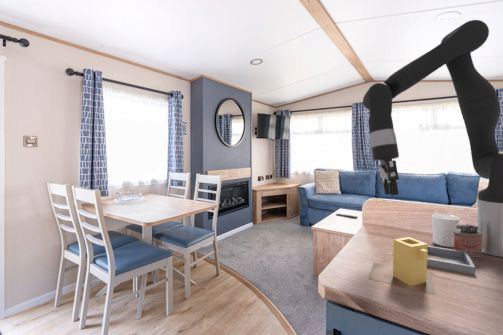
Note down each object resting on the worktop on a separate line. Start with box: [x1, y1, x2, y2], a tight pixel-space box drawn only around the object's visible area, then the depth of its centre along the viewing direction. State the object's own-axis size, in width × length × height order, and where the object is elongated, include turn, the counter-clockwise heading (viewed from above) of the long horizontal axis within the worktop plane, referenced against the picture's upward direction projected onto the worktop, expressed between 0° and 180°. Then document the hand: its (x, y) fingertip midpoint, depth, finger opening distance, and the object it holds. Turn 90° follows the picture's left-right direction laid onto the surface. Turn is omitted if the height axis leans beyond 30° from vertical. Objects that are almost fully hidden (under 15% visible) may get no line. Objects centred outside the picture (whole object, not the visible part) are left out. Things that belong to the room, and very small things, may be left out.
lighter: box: [453, 223, 483, 258], centre depth 79 cm, size 8×3×10 cm, turn 84°
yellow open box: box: [392, 236, 429, 286], centre depth 63 cm, size 7×5×10 cm
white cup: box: [431, 213, 461, 248], centre depth 89 cm, size 8×8×10 cm
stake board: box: [368, 244, 436, 295], centre depth 65 cm, size 14×11×10 cm
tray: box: [427, 245, 476, 276], centre depth 73 cm, size 12×12×3 cm
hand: (391, 194), depth 78 cm, fingers open, 8 cm apart
